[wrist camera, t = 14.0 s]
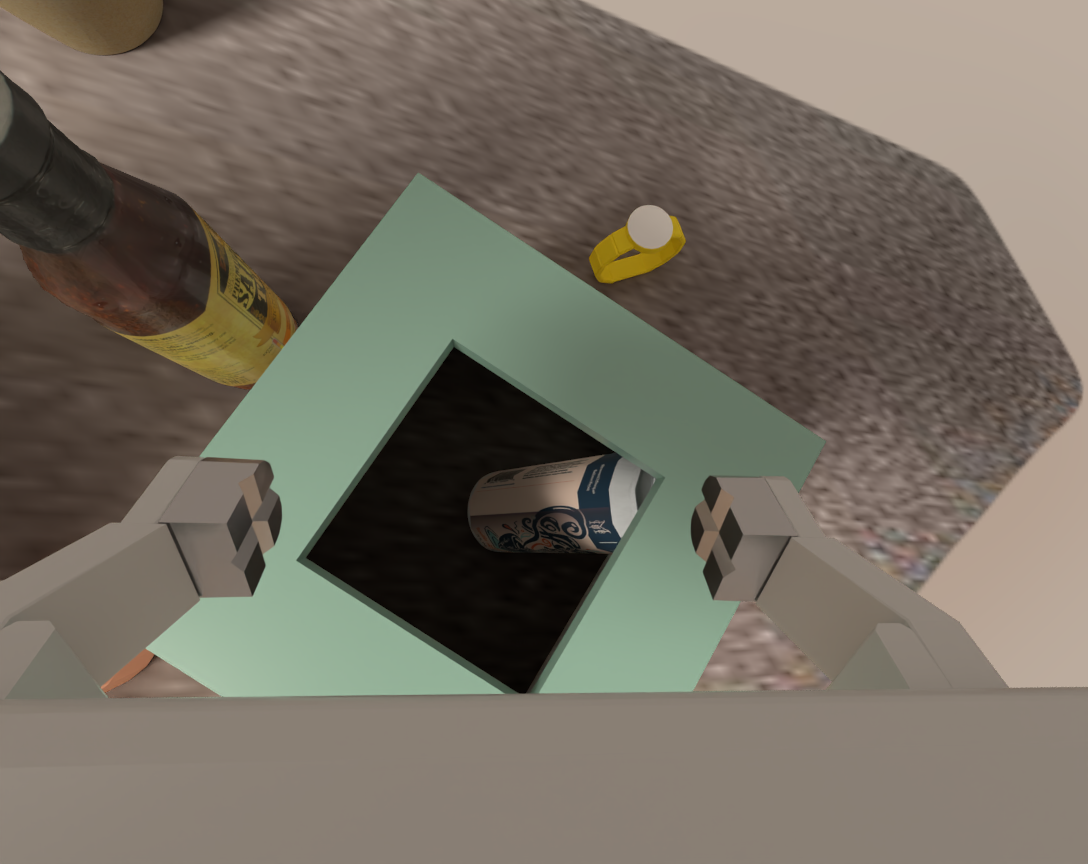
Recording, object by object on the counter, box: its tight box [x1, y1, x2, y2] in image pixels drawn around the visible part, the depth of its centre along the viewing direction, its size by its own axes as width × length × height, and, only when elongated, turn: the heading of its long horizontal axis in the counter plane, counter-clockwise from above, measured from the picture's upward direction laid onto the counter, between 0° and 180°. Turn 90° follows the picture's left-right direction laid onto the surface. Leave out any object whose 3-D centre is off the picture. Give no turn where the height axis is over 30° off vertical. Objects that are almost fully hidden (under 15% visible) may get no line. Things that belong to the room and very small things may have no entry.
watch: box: [589, 205, 686, 284], centre depth 35 cm, size 6×3×6 cm, turn 109°
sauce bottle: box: [0, 71, 298, 389], centre depth 24 cm, size 7×6×20 cm
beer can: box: [467, 453, 656, 554], centre depth 29 cm, size 5×5×12 cm
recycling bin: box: [145, 173, 826, 697], centre depth 26 cm, size 18×18×16 cm
